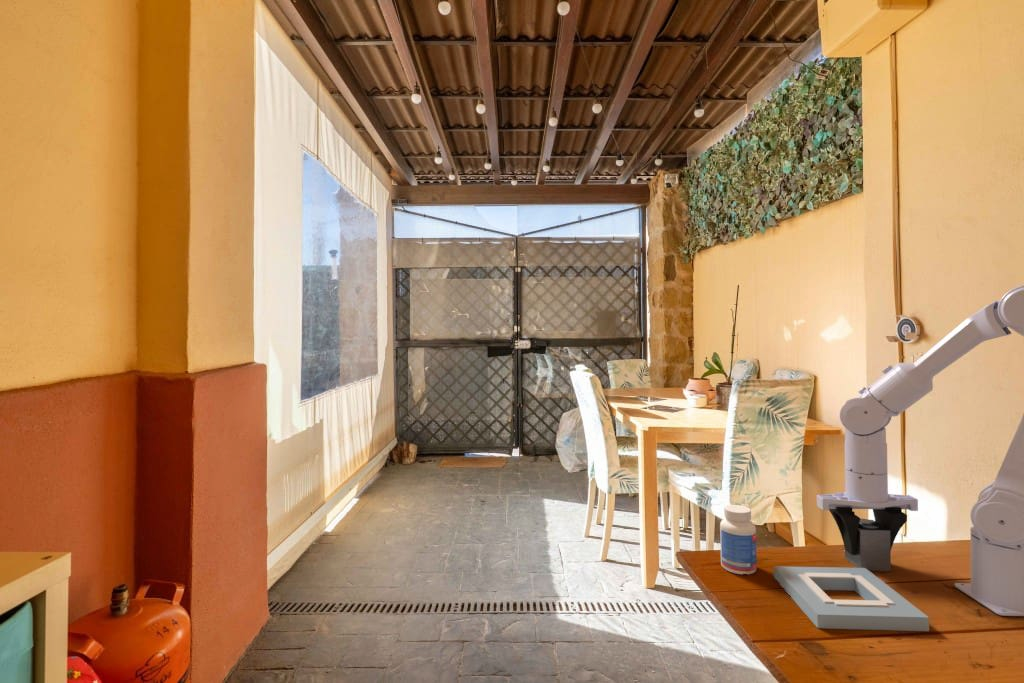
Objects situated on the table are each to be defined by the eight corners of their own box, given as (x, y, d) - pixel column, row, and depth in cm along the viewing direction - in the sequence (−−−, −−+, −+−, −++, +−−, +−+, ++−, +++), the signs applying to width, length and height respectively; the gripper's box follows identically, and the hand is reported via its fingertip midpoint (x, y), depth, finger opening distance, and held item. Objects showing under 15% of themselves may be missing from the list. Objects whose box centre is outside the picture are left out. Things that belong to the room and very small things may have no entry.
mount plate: (865, 579, 78) (865, 566, 78) (929, 631, 64) (928, 615, 64) (774, 577, 79) (773, 565, 79) (817, 628, 66) (817, 612, 66)
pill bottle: (761, 576, 79) (759, 515, 79) (724, 574, 81) (723, 513, 80) (751, 561, 85) (750, 503, 85) (717, 559, 86) (716, 502, 86)
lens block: (873, 558, 85) (872, 517, 85) (890, 571, 80) (890, 528, 80) (845, 558, 85) (844, 517, 85) (860, 570, 81) (860, 527, 81)
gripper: (896, 463, 86) (898, 542, 86) (807, 463, 87) (808, 541, 87) (926, 475, 79) (928, 561, 79) (828, 475, 80) (830, 560, 80)
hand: (867, 552), depth 83 cm, fingers closed on lens block, 4 cm apart
